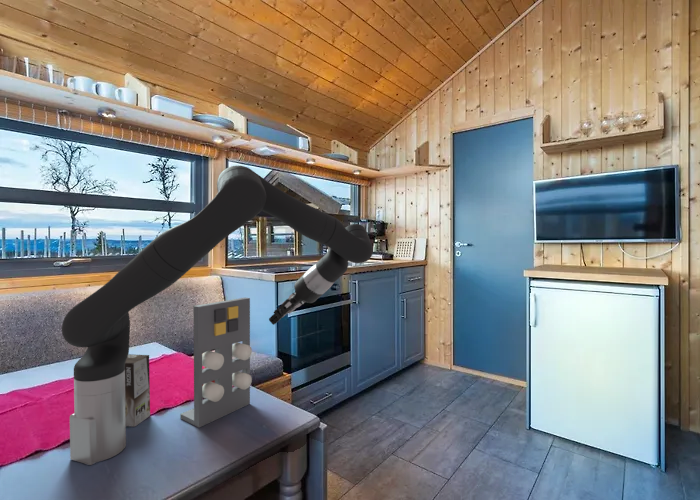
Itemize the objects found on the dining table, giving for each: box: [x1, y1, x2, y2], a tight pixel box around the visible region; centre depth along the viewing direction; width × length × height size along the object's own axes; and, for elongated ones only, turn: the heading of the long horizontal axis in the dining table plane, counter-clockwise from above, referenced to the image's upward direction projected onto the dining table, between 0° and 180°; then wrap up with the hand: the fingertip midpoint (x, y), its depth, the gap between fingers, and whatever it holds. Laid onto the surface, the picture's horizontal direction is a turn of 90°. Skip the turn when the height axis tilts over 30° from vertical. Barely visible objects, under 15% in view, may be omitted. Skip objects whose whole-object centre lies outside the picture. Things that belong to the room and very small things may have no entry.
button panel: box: [179, 297, 251, 429], centre depth 100 cm, size 9×16×30 cm, turn 146°
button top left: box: [202, 350, 224, 370], centre depth 93 cm, size 4×4×4 cm
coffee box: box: [125, 353, 151, 428], centre depth 95 cm, size 9×6×16 cm
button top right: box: [232, 342, 253, 360], centre depth 101 cm, size 4×4×4 cm
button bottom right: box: [232, 371, 253, 390], centre depth 101 cm, size 4×4×4 cm
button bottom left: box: [202, 382, 224, 402], centre depth 94 cm, size 4×4×4 cm
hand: (279, 316), depth 107 cm, fingers open, 8 cm apart
